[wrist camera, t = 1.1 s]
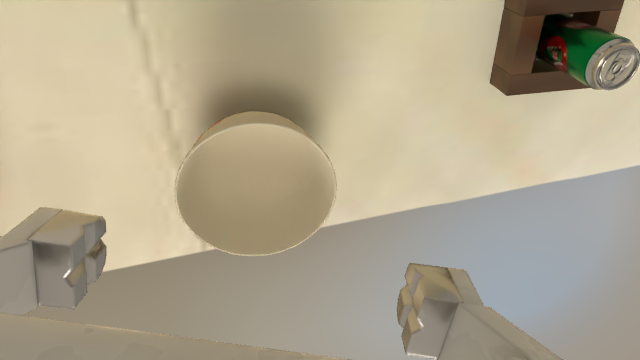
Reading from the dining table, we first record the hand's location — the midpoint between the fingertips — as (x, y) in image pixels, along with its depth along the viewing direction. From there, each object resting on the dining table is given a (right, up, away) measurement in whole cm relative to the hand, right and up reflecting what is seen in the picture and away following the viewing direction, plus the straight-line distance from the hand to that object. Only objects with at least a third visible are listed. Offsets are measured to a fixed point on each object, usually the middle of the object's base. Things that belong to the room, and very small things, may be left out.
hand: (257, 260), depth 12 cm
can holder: (+27, +19, +40) cm, 52 cm away
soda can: (+27, +19, +40) cm, 52 cm away
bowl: (-6, +6, +42) cm, 43 cm away
